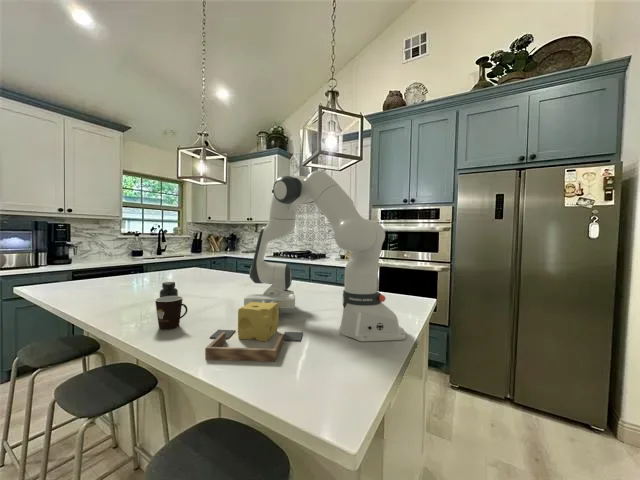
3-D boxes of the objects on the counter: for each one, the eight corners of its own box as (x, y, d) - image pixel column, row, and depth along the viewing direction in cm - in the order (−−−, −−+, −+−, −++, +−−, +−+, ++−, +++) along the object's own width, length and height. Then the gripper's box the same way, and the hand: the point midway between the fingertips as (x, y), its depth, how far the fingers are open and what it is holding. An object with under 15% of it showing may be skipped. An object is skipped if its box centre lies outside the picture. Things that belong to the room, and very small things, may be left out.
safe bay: (283, 343, 90) (283, 333, 90) (275, 361, 77) (275, 350, 77) (222, 341, 91) (222, 331, 91) (205, 359, 78) (205, 348, 78)
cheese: (267, 342, 91) (268, 310, 90) (235, 339, 93) (235, 308, 92) (279, 331, 101) (279, 302, 101) (249, 328, 103) (250, 300, 103)
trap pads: (302, 333, 99) (302, 332, 99) (300, 341, 92) (300, 340, 92) (218, 330, 100) (218, 329, 100) (209, 338, 93) (209, 337, 93)
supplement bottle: (161, 309, 125) (161, 281, 124) (179, 308, 127) (179, 280, 126) (158, 313, 118) (157, 284, 118) (176, 312, 120) (176, 283, 120)
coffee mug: (152, 326, 103) (151, 298, 103) (177, 321, 109) (177, 294, 109) (162, 335, 95) (162, 304, 95) (189, 329, 101) (189, 300, 101)
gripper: (249, 289, 123) (238, 297, 109) (297, 291, 122) (293, 299, 108) (248, 304, 123) (238, 313, 109) (297, 305, 122) (292, 315, 109)
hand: (266, 306), depth 109 cm, fingers closed
